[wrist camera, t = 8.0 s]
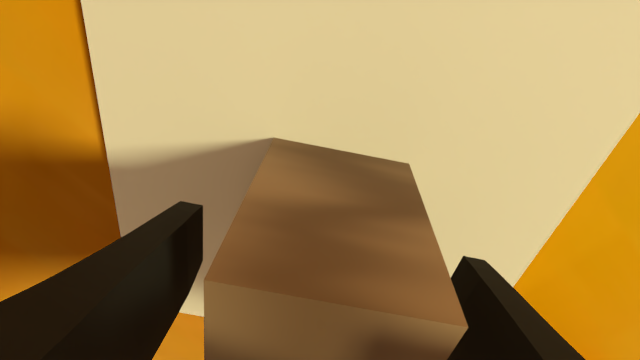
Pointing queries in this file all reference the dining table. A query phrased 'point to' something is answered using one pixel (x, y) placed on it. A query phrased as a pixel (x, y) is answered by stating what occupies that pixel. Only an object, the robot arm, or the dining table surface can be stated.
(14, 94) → the dining table surface
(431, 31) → the cream mat
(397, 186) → the walnut block
